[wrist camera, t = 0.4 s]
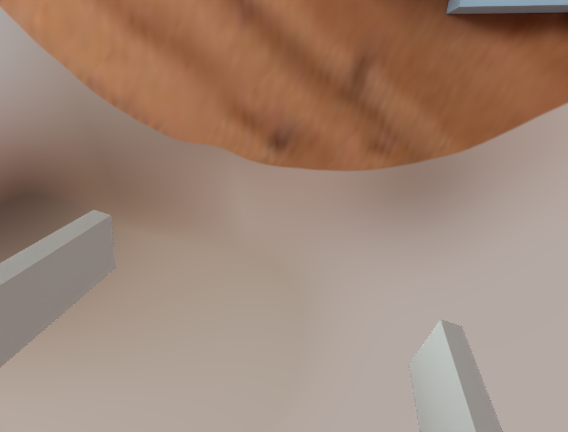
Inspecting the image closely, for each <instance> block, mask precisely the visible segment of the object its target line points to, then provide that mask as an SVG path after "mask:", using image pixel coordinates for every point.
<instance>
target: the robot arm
mask: <svg viewBox="0 0 568 432" xmlns="http://www.w3.org/2000/svg"><path fill="white" fill-rule="evenodd" d="M115 268H116V264H115V254H114V243H113V233H112V222H111V215H108V214H105V213H102V212H99V211H96V210H92V211H91V212H89V213H87V214H85V215H84V216H82V217H80V218H78V219H77V220H75V221H73V222H71V223H70V224H68V225H66V226H64V227H63V228H61V229H59V230H57V231H56V232H54V233H52V234H50V235H49V236H47V237H45V238H43V239H42V240H40V241H38V242H36V243H35V244H33V245H31V246H29V247H28V248H26V249H24V250H22V251H21V252H19V253H17V254H16V255H14V256H12V257H10V258H8V259H7V260H5V261H3V262H1V263H0V367H1V366H2V365H4V364H5V363H6V362H7V361H8V360H9V359H11V358H12V357H13V356H14V355H15V354H16V353H18V352H19V351H20V350H21V349H22V348H23V347H25V346H26V345H27V344H28V343H29V342H30V341H32V340H33V339H34V338H35V337H36V336H37V335H38V334H40V333H41V332H42V331H43V330H44V329H45V328H47V327H48V326H49V325H50V324H51V323H52V322H54V320H56V319H57V318H58V317H59V316H61V314H63V313H64V312H65V311H66V310H67V309H69V308H70V307H71V306H72V305H73V304H74V303H76V302H77V301H78V300H79V299H80V298H81V297H82V296H84V295H85V294H86V293H87V292H88V291H89V290H91V289H92V288H93V287H94V286H95V285H96V284H97V283H99V282H100V281H101V280H102V279H103V278H104V277H106V276H107V275H108V274H109V273H110V272H112V271H113V270H114V269H115ZM409 370H410V376H411V382H412V388H413V395H414V401H415V407H416V412H417V419H418V424H419V431H420V432H503V431H502V428H501V426H500V423H499V421H498V418H497V415H496V413H495V410H494V408H493V406H492V403H491V400H490V397H489V395H488V393H487V390H486V387H485V385H484V382H483V379H482V377H481V374H480V372H479V369H478V367H477V364H476V361H475V359H474V356H473V354H472V351H471V349H470V346H469V344H468V341H467V338H466V336H465V333H464V331H463V328H462V326H459V325H456V324H453V323H450V322H446V321H444V320H440V321H439V322H438V324H437V325H436V327H435V328H434V330H433V331H432V332H431V334H430V335H429V337H428V338H427V339H426V341H425V342H424V344H423V345H422V347H421V348H420V349H419V351H418V352H417V354H416V355H415V357H414V358H413V359H412V361H411V362H410V364H409Z"/></svg>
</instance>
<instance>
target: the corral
mask: <svg viewBox="0 0 568 432" xmlns="http://www.w3.org/2000/svg"><path fill="white" fill-rule="evenodd" d="M561 12H568V0H449V3H448V7H447V12H446V14H486V13H561Z"/></svg>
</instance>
